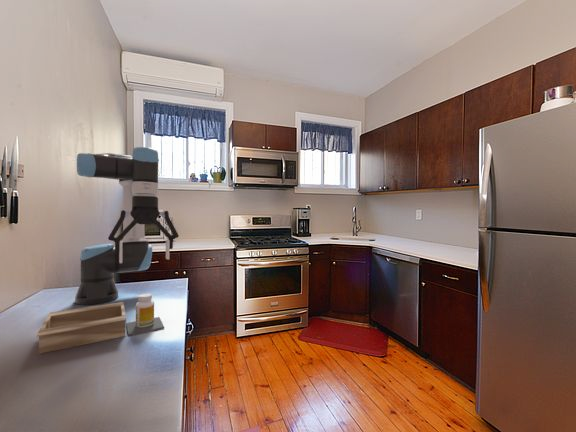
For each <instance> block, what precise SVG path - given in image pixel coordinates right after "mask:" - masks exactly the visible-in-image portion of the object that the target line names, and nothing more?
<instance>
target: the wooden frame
mask: <svg viewBox="0 0 576 432" xmlns="http://www.w3.org/2000/svg"><path fill="white" fill-rule="evenodd" d="M126 317H127V316H126V309H125V303H124V302H123V301H121V302H114V303H112V302H111V303H107V304H101V305H100V304H99V305H94V306H92V305H91V306H86V307H79V308H74V309H73V308H72V309H65V310H58V311H54V312H49V313H48V314H47V317H46V318H45V321H44V322H43V324H42V325H41V327H40V329H39V330H38V332H37V333H36V338H37V337H38V354H39V355H40V354H44V353H45V354H46V353H49V352H54V351H55V352H56V351H58V350H64V349H69V348H74V347H78V346H83V345H88V344H92V343H94V344H95V343H98V342H102V341H107V340H112V339H117V338H122V337H125V336H126V321H127V318H126Z"/></svg>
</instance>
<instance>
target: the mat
mask: <svg viewBox="0 0 576 432" xmlns="http://www.w3.org/2000/svg"><path fill="white" fill-rule="evenodd" d="M125 326H126V331H127V335H128V337H131V336H135V335H141V334H145V333H149V332H155V331H159V330H160V331H161V330H164V329H165V326H164V324H163V322H162V319H161V318H160V316H158V317H154V324H153V325H151V326H148V327H143V328H140V327H136V320H134V321H129V322H125ZM163 328H164V329H163Z"/></svg>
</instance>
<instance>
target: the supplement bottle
mask: <svg viewBox="0 0 576 432" xmlns="http://www.w3.org/2000/svg"><path fill="white" fill-rule="evenodd" d="M137 297H138V298H137V300H138V301H137V302H136V304H135V321H136V327H140V328H143V327H148V326H151V325H153V324H154V318H155V302H154V300H153V295H152V293H142V294H139V295H138V296H137Z"/></svg>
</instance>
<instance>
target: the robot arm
mask: <svg viewBox="0 0 576 432" xmlns="http://www.w3.org/2000/svg"><path fill="white" fill-rule="evenodd" d="M159 161H160V159H159V152H158V150H157V149H154V148H152V147H147V146H146V147H144V146H137V147H133V149H132V155H129V154H128V155H127V154H119V153H110V152H106V153H104V152H103V153H89V152H87V153H83V152H79V153H78V154H77V155H76V173H77V175H78V176H80V177H87V178H96V179H97V178H99V179H110V180H117V181H118V184H119V185H120V186H121V187H122V208H123V209H122V210H120V215H119V218H118V220H117V222H116V224H115V225H114V227H113V229H112V230H111V232H110V234H108V238H107V239H108V241H112V242H114V243H102V244H96V245H90V246H86V247H84V248H82V250H81V251H80V258H79V261H80V284H79V286H78V289H77V291H76V294H75V297H74V303H75V304H76V305H80V306H81V305H82V306H87V305H91V306H92V305H97V304H99V305H100V304H105V303H107V302H111V301H114V300H116V299H118V298H119V290H118V287H117V285H116V282H115V279H114V274H119V273H121V274H122V273H130V272H131V273H132V272H141V271H146V270H148V269H149V268H150V267H151V263H152V258H153V256H152V255H153V245H151V243H150V244H149V240H148V239H147V238H146V237H145V225H152V224H153V225H155V226H156V227H157V228H158V229H159V230H160V231H161V232H162V233H163V234H164V236H166V238H167V239H165V259H166V260H170V250H173V248H174V245H173V244H174V239H177V238H179V234H178V233H179V232H177V229H176V228H175V226H174V224H173V221H172V220H171V219H170V214H169V211H168V210H163V211H159V197H158V195H159ZM159 216H161V217H162V218H164V221H165V222H166V224H167V226H168V228H169V230H170V232H171V233H170V232H169V231H168V230H167V229H166V228H165V227H164V226H163V224H161V222H159V220H158V218H159ZM122 224H123V226H122ZM121 226H122V227H123V229H122V231H121V232H120V233H119V234H118V235H117V236H116V234H117V232H118V231H119V229H120V227H121Z"/></svg>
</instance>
